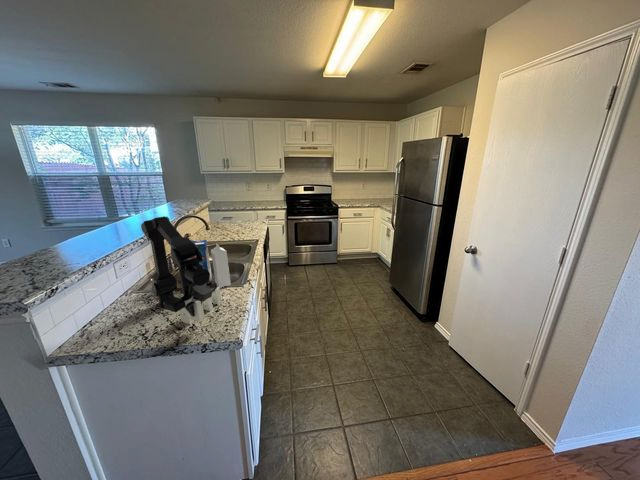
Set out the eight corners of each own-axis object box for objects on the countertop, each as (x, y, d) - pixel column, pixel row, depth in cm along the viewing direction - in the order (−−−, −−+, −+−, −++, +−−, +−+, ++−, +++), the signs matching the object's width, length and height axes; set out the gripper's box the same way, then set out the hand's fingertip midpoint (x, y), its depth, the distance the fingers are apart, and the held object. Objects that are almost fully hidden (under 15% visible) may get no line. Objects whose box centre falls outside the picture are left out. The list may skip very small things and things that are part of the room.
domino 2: (189, 319, 96) (186, 300, 94) (194, 316, 98) (190, 297, 96) (199, 322, 94) (196, 303, 92) (203, 319, 96) (200, 300, 94)
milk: (219, 288, 129) (212, 247, 122) (215, 284, 133) (209, 244, 126) (231, 285, 132) (225, 245, 125) (227, 281, 137) (222, 242, 130)
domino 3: (191, 315, 107) (188, 298, 105) (195, 312, 109) (192, 295, 106) (200, 317, 105) (197, 300, 103) (204, 315, 107) (201, 298, 104)
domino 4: (201, 308, 111) (198, 292, 109) (204, 306, 113) (202, 290, 111) (209, 311, 109) (207, 294, 107) (213, 309, 111) (210, 292, 109)
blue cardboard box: (210, 283, 134) (204, 243, 128) (187, 285, 132) (180, 245, 125) (212, 277, 141) (206, 239, 134) (190, 280, 138) (183, 241, 132)
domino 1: (181, 321, 103) (177, 304, 100) (185, 319, 104) (181, 301, 102) (190, 324, 101) (186, 307, 98) (194, 321, 102) (191, 304, 100)
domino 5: (210, 303, 116) (207, 287, 113) (213, 301, 117) (211, 285, 115) (218, 305, 114) (216, 289, 111) (221, 303, 115) (219, 287, 113)
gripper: (182, 293, 80) (190, 335, 84) (225, 270, 96) (230, 306, 101) (158, 286, 84) (167, 326, 89) (203, 265, 100) (209, 300, 105)
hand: (195, 314), depth 96 cm, fingers closed on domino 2, 2 cm apart
